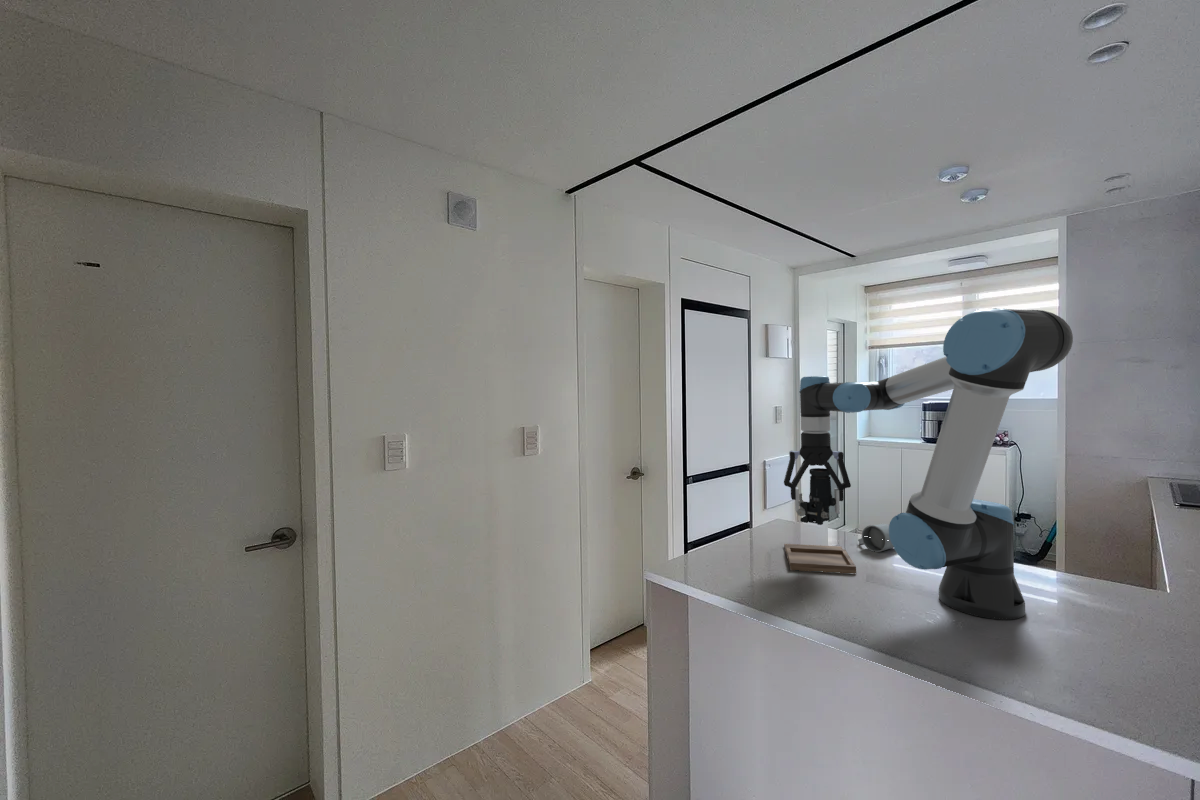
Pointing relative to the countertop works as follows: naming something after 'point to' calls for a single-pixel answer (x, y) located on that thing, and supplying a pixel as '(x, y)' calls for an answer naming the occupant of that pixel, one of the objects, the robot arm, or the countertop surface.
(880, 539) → the ceramic mug
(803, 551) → the wooden tray
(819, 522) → the scope
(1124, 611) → the countertop surface
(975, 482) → the robot arm
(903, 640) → the countertop surface
